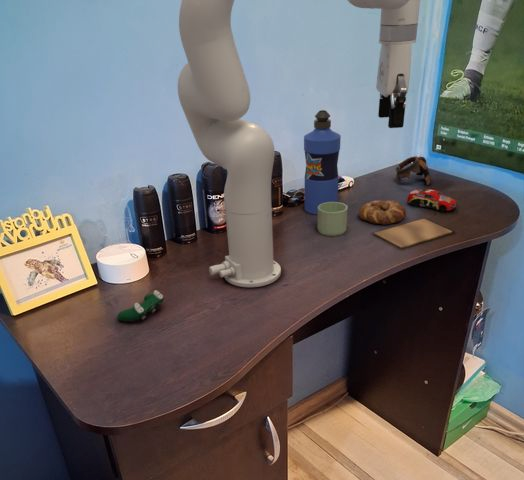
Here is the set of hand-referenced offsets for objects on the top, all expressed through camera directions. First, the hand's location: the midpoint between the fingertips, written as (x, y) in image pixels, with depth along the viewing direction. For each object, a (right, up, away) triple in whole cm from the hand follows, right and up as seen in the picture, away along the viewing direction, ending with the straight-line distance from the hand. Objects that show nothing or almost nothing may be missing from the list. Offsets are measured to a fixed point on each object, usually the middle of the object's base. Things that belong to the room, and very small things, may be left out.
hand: (390, 122), depth 121 cm
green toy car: (-52, -44, -14) cm, 70 cm away
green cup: (-11, -21, +15) cm, 28 cm away
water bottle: (-13, -12, +28) cm, 33 cm away
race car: (+17, -12, +25) cm, 33 cm away
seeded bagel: (+3, -17, +20) cm, 26 cm away
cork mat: (+8, -23, +11) cm, 27 cm away
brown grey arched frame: (+17, 0, +42) cm, 45 cm away
